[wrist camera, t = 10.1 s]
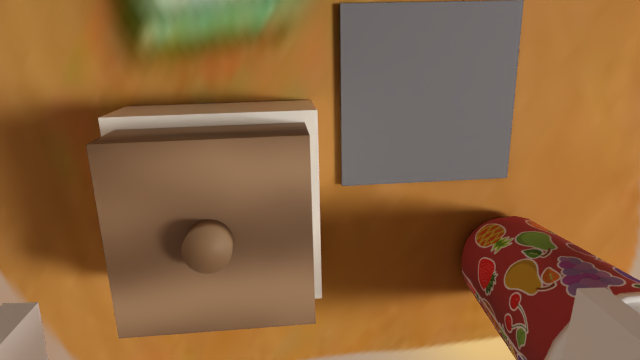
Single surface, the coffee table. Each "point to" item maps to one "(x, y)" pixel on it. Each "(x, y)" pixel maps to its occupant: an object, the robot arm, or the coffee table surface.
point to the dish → (232, 116)
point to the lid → (206, 227)
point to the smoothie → (535, 283)
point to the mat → (427, 90)
